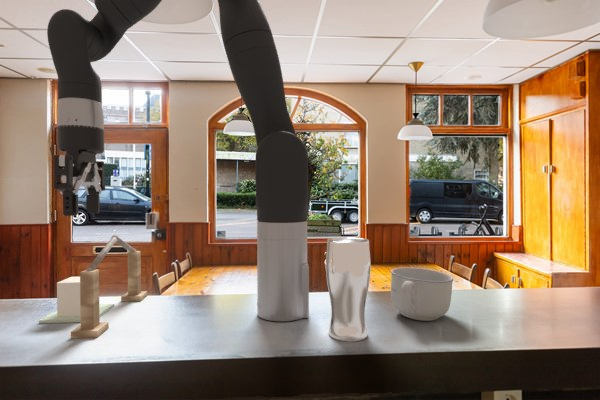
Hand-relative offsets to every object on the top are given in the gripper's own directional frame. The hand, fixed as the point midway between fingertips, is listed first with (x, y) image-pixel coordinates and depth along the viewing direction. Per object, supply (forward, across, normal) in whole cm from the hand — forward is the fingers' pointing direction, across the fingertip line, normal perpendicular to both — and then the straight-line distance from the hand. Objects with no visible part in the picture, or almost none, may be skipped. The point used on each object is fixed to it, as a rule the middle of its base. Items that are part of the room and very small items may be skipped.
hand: (82, 214), depth 70 cm
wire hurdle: (+18, -1, -6) cm, 19 cm away
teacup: (+19, -8, -61) cm, 64 cm away
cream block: (+18, -1, +1) cm, 18 cm away
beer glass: (+19, -15, -47) cm, 53 cm away
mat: (+18, 0, +1) cm, 19 cm away
